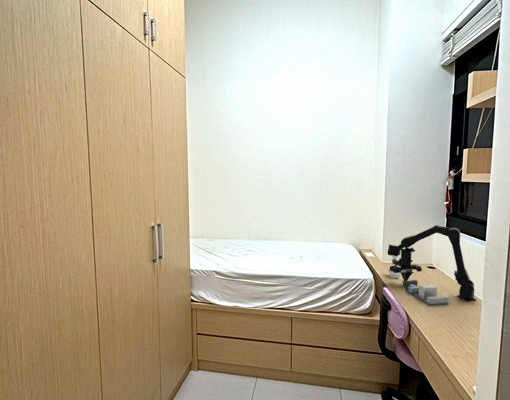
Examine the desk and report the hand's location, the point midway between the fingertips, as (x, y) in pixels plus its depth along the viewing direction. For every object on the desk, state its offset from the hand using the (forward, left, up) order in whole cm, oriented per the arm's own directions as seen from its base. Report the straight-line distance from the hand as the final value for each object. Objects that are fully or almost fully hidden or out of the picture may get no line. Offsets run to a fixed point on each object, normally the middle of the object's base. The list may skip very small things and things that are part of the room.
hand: (405, 281), depth 180 cm
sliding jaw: (0, +8, -1) cm, 8 cm away
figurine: (-3, -15, -3) cm, 16 cm away
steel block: (0, +19, -1) cm, 19 cm away
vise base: (0, +17, -2) cm, 18 cm away
